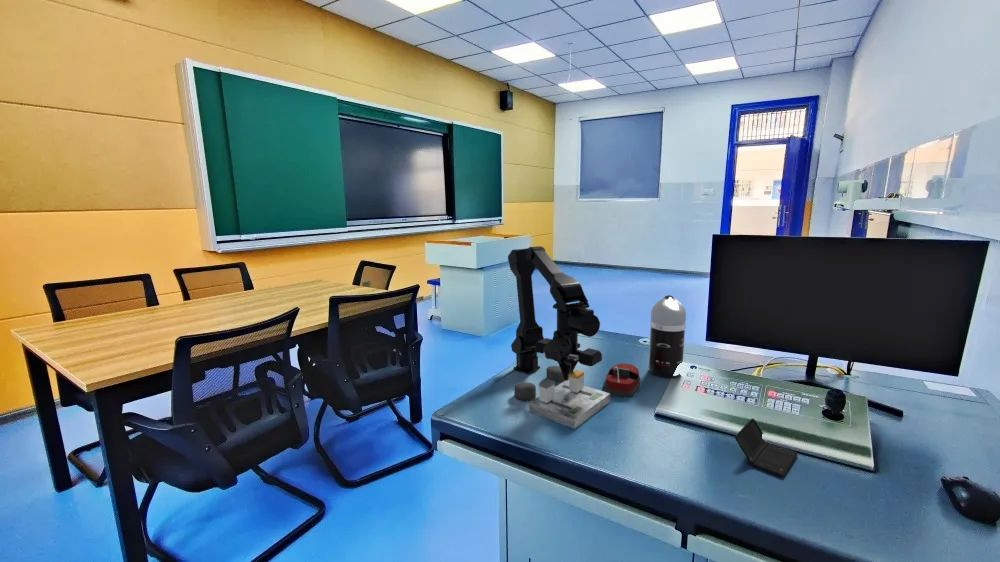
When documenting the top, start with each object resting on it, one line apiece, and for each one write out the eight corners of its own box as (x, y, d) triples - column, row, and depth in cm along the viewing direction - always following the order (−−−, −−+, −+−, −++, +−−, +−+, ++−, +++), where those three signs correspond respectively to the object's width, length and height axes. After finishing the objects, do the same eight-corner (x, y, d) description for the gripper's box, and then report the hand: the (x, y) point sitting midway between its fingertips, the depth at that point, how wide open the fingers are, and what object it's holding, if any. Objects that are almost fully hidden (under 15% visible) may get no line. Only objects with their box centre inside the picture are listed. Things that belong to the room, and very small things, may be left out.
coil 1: (510, 397, 120) (510, 387, 120) (523, 390, 125) (523, 380, 124) (527, 403, 116) (526, 393, 116) (540, 395, 121) (540, 386, 120)
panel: (528, 411, 112) (528, 402, 112) (566, 388, 125) (566, 379, 125) (574, 429, 103) (574, 419, 102) (609, 402, 116) (610, 393, 115)
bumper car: (643, 377, 132) (645, 346, 130) (633, 405, 114) (635, 370, 112) (611, 372, 136) (612, 342, 134) (597, 399, 119) (598, 365, 117)
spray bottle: (685, 370, 136) (690, 293, 131) (679, 381, 128) (684, 300, 123) (652, 364, 142) (655, 290, 137) (644, 374, 133) (647, 297, 128)
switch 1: (539, 400, 112) (539, 383, 111) (547, 395, 115) (547, 378, 114) (546, 403, 110) (546, 385, 109) (554, 398, 113) (555, 381, 112)
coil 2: (542, 379, 131) (542, 370, 131) (553, 373, 136) (553, 364, 135) (558, 384, 127) (558, 375, 127) (569, 378, 132) (569, 369, 131)
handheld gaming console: (796, 475, 82) (764, 425, 85) (759, 485, 86) (730, 437, 89) (800, 454, 91) (770, 410, 94) (766, 465, 95) (739, 422, 98)
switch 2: (568, 390, 117) (569, 374, 116) (576, 385, 120) (576, 369, 119) (576, 392, 116) (577, 376, 115) (583, 388, 118) (584, 372, 118)
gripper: (522, 327, 117) (523, 380, 120) (581, 341, 105) (580, 400, 107) (546, 318, 125) (546, 368, 128) (603, 330, 113) (602, 385, 116)
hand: (566, 380), depth 119 cm, fingers closed
